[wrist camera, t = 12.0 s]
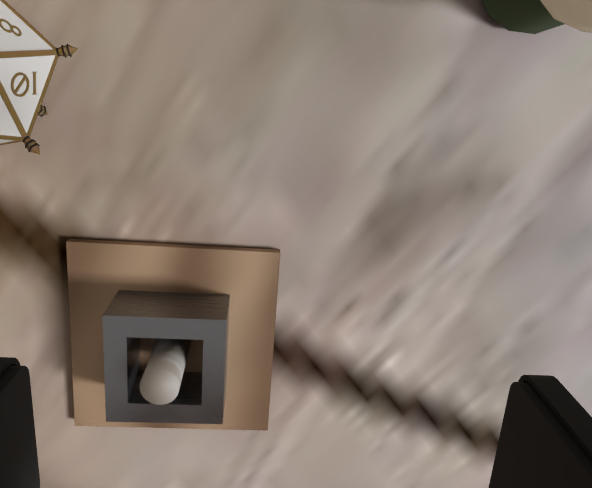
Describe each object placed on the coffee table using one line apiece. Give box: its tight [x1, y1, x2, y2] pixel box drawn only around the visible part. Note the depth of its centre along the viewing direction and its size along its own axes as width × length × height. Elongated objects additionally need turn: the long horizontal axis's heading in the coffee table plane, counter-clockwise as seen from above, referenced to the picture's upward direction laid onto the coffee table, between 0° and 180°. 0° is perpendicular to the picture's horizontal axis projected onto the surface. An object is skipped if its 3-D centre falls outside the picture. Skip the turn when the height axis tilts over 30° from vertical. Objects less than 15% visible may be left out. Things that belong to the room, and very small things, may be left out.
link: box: [102, 290, 230, 424], centre depth 31 cm, size 6×6×4 cm
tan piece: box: [66, 239, 280, 430], centre depth 31 cm, size 12×12×6 cm
